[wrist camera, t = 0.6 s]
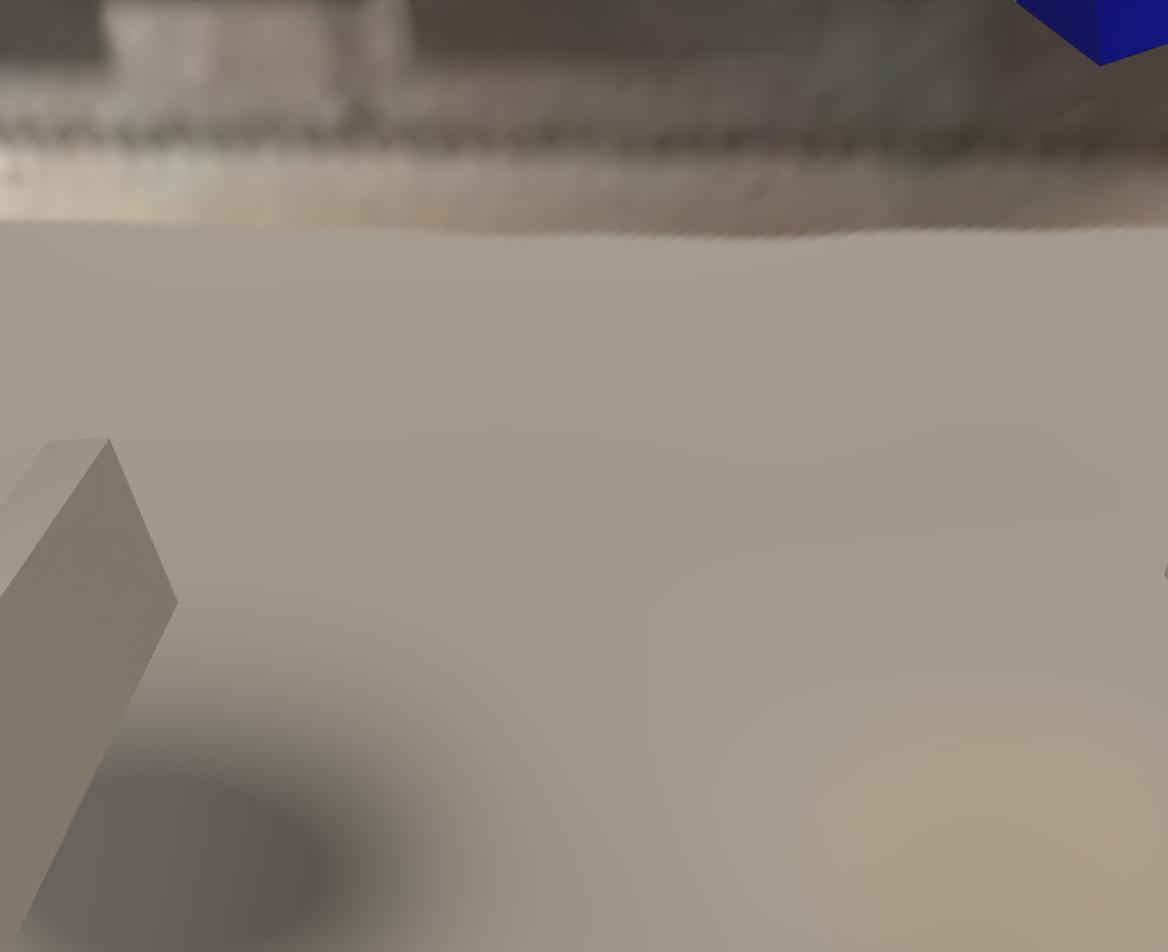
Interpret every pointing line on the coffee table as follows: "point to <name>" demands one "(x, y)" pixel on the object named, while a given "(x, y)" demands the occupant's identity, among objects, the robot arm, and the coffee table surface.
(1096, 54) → the puzzle toy
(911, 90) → the coffee table surface
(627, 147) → the coffee table surface
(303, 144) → the coffee table surface
